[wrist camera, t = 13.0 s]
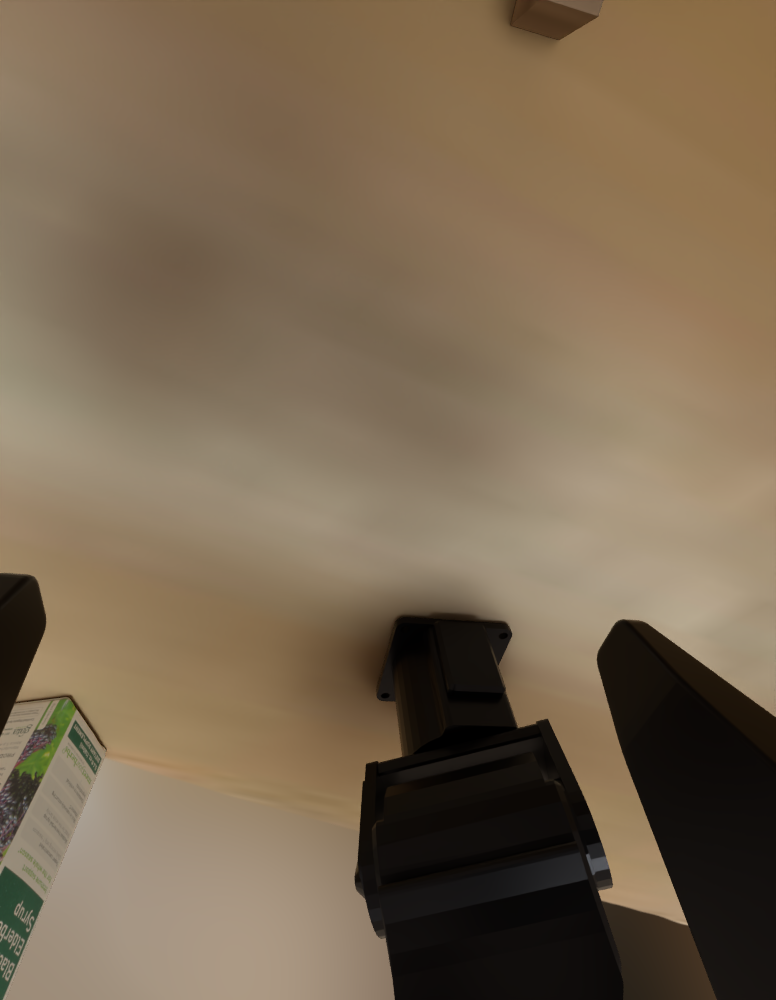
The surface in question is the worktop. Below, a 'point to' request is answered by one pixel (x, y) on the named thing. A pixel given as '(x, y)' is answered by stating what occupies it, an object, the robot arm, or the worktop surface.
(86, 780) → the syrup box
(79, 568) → the worktop surface
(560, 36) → the brown wooden bar
